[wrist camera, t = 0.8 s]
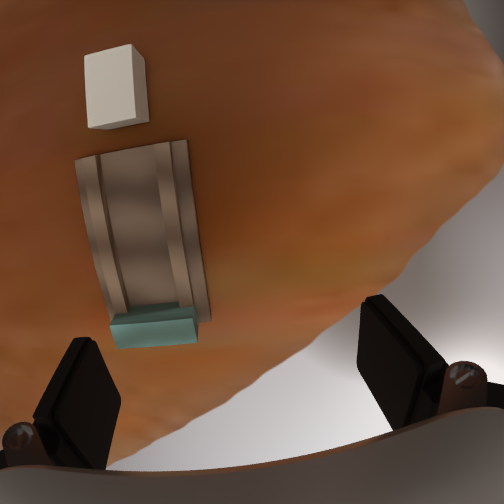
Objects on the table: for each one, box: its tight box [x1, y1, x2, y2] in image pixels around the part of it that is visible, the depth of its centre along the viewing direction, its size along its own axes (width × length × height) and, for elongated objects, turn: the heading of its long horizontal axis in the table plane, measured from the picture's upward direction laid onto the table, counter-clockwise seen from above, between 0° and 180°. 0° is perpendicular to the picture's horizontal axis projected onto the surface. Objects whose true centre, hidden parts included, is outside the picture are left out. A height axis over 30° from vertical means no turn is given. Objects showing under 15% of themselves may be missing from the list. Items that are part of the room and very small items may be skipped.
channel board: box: [75, 140, 211, 349], centre depth 31 cm, size 20×12×6 cm, turn 5°
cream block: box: [84, 44, 149, 130], centre depth 26 cm, size 7×4×6 cm, turn 5°
